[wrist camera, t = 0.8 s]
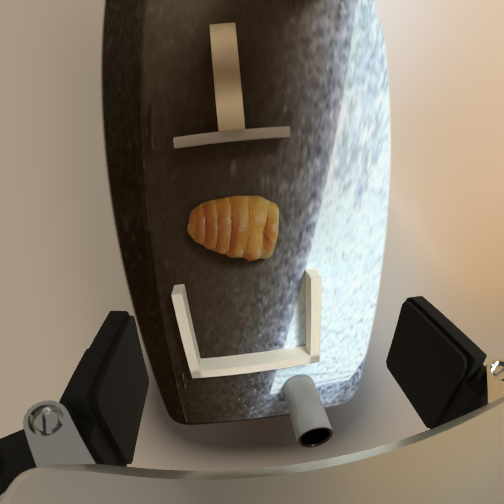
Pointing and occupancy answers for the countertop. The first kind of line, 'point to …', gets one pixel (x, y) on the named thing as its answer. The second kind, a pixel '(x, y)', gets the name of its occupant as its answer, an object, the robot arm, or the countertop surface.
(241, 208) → the pastry
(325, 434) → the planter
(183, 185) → the countertop surface
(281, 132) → the dough scraper
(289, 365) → the frame
